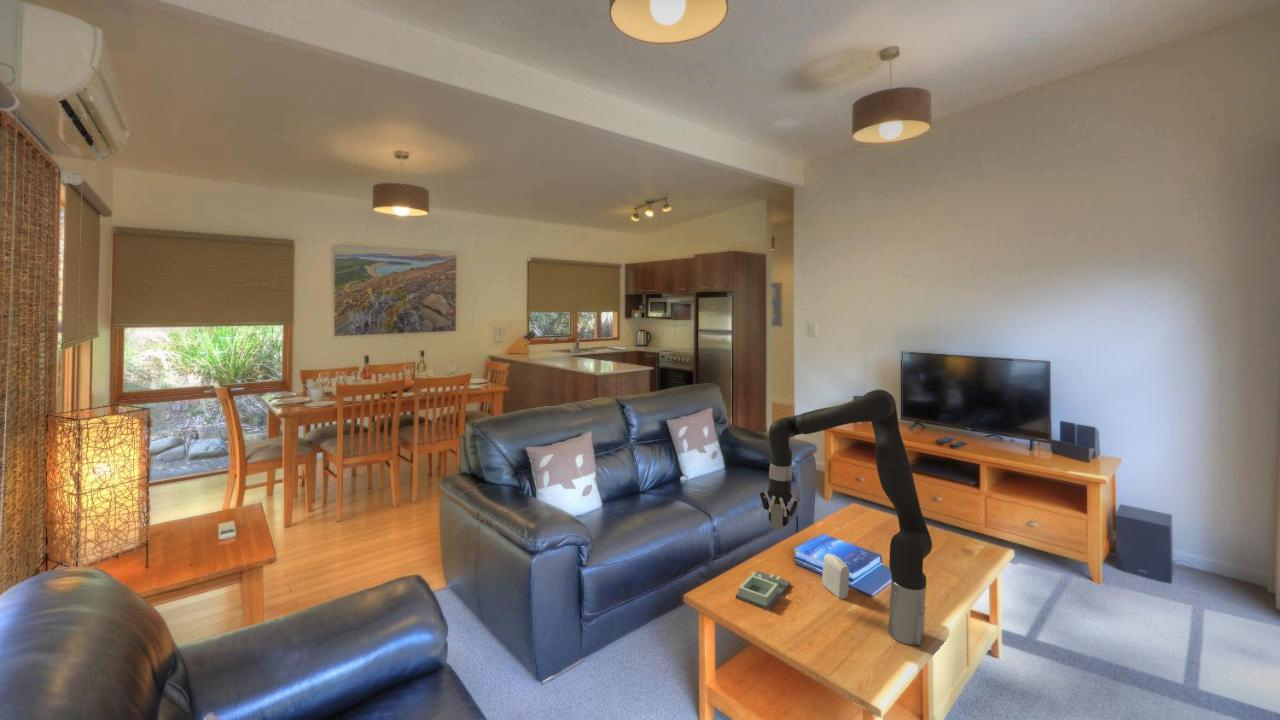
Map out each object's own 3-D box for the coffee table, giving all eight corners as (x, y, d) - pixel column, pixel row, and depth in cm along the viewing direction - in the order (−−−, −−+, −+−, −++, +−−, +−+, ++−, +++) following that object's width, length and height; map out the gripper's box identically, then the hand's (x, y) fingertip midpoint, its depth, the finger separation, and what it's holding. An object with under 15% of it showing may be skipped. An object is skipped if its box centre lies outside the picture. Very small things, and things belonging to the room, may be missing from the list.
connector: (786, 526, 179) (787, 503, 178) (781, 530, 175) (782, 506, 174) (774, 523, 181) (775, 500, 180) (770, 527, 178) (771, 503, 177)
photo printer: (850, 598, 175) (851, 563, 173) (839, 600, 173) (841, 565, 172) (830, 582, 184) (832, 549, 183) (820, 584, 183) (821, 551, 182)
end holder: (777, 592, 176) (778, 584, 176) (766, 606, 168) (766, 597, 168) (750, 582, 182) (751, 574, 181) (738, 595, 174) (738, 587, 173)
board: (790, 584, 183) (790, 575, 182) (769, 610, 167) (769, 600, 167) (758, 574, 190) (758, 564, 189) (735, 598, 175) (735, 587, 174)
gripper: (804, 477, 175) (802, 525, 177) (765, 469, 183) (763, 514, 185) (797, 484, 169) (794, 533, 171) (756, 474, 177) (754, 522, 179)
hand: (778, 523), depth 178 cm, fingers closed on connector, 4 cm apart
